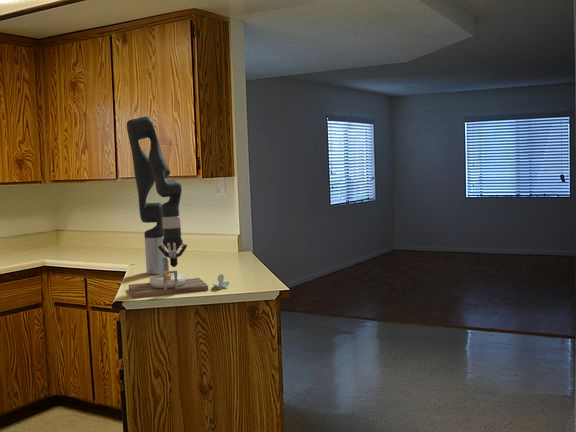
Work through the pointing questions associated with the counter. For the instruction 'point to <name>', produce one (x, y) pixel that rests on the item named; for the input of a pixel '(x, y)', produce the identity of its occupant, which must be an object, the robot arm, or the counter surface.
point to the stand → (189, 286)
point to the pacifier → (220, 283)
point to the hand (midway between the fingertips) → (174, 266)
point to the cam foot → (158, 280)
